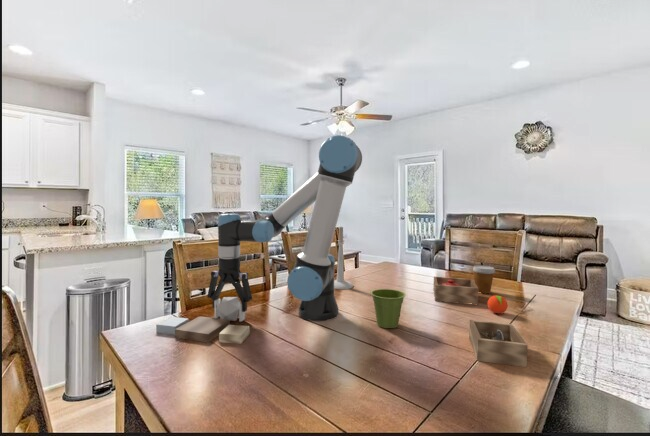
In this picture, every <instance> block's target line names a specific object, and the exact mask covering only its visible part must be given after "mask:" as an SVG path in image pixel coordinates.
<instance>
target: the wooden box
mask: <svg viewBox="0 0 650 436" xmlns="http://www.w3.org/2000/svg"><path fill="white" fill-rule="evenodd" d="M448 280H453V281H454V282H453V283H456V284H458V285H459V286H448V285H442V284H443V283H448ZM433 291H434V292H433V297H435V298H434V301H435V302H440V301H444V302H443V303H451V302H458V303H457V304H462V303H472V304H471V305H473V304H478V305H479V293H478V291H479V288H478V287H477V285H476V284H475V280H474V279H473V278H459V277H446V276H443V277H442V276H433Z"/></svg>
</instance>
